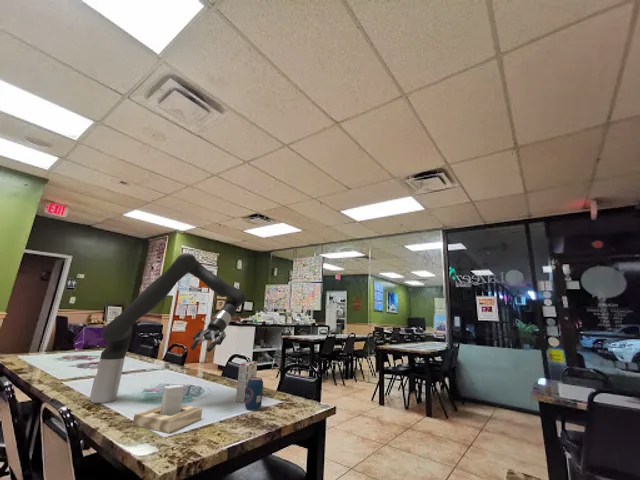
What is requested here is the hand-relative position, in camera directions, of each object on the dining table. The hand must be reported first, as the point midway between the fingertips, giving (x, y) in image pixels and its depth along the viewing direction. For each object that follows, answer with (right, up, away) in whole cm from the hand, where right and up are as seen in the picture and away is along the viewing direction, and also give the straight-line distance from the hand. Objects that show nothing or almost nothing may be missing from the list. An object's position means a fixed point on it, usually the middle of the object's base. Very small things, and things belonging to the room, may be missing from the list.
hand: (199, 349), depth 127 cm
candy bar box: (+16, -29, +13) cm, 35 cm away
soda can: (+23, -26, 0) cm, 34 cm away
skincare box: (-4, -19, -19) cm, 28 cm away
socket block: (-4, -19, -20) cm, 28 cm away
